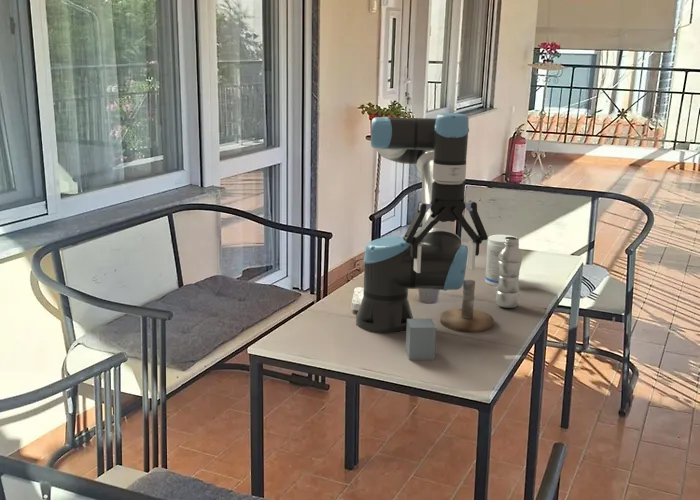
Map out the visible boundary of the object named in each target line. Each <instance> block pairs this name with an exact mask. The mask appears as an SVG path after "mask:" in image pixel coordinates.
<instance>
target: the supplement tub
mask: <svg viewBox="0 0 700 500" xmlns="http://www.w3.org/2000/svg"><path fill="white" fill-rule="evenodd" d="M505 237H516V236H514V235H510V234H509V235H507V234H493V235H492V234H491V235H489V236H488V239H487V246H486V260H485V273H484V274H485V277H484V281H485V283H486V284H487V285H489V286H493V287H497V288H498V282H499V262H498V255H499V252H500V251H501V250H502V249H503V248H504V247H505V245H504V242H505ZM516 238H518V237H516ZM518 243H520V241H519V240H518ZM519 246H520V244H518V246H517V248H518V249H519V248H520V247H519ZM519 250H520V249H519Z"/></svg>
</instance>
